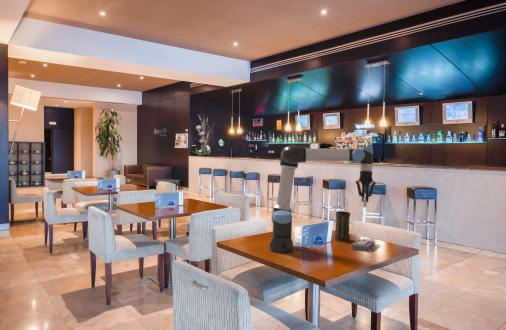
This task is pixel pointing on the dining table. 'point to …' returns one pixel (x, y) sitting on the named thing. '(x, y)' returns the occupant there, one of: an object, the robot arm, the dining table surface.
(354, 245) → the grey dice tray
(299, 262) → the dining table surface
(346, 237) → the beer stein
